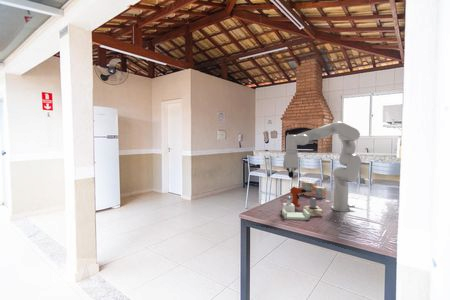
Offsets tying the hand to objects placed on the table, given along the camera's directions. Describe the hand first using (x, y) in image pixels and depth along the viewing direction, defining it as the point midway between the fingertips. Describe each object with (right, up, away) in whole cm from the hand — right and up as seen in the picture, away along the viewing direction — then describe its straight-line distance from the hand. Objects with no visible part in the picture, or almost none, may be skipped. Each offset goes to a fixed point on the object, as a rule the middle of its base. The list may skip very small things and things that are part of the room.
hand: (290, 177), depth 164 cm
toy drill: (+12, -25, +14) cm, 30 cm away
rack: (0, -25, -11) cm, 28 cm away
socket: (+15, -25, -4) cm, 29 cm away
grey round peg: (+15, -25, -4) cm, 29 cm away
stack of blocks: (+34, -23, +47) cm, 63 cm away
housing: (-1, -25, +2) cm, 25 cm away
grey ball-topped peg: (-1, -24, +1) cm, 24 cm away
